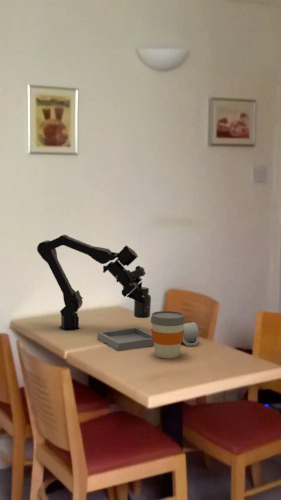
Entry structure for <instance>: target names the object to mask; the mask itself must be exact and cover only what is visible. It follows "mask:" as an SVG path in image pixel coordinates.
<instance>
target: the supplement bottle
mask: <svg viewBox="0 0 281 500" xmlns="http://www.w3.org/2000/svg"><path fill="white" fill-rule="evenodd" d="M149 289H150V288H149V287H144V286H142V287H139V288H138V291H139V293H140V294H141V296H142V297H143V299H144V300H145V303H144V304H143V303H141V302H138V301H136V300H134V299H133V300H134V302H133V304H134V305H133V316H134V317H135V318H139V319H149V317H150V318H151V309H152V308H151V306H152V305H151V303H152V301H151V300H152V296H151V295H150V294H149Z"/></svg>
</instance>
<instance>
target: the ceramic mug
mask: <svg viewBox="0 0 281 500" xmlns="http://www.w3.org/2000/svg"><path fill="white" fill-rule="evenodd" d="M183 329H184V334H183V341H182V343H181V344H184V345H185V346H187V347H196V346H197V345H198V341H199V339H200V330H199V327H198V325H197V323H196V322H194V321H193V322H188V323H187V322H185V323H184V327H183Z"/></svg>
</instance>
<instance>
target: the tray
mask: <svg viewBox="0 0 281 500" xmlns="http://www.w3.org/2000/svg"><path fill="white" fill-rule="evenodd" d="M96 335H97V336H96V337H97V340H98V339H99V340H98V341H100V340H101V341H100V342H102V341H103V342H105V343H107V344H106V345H107V346H109V347H110V348H112V349H114V350H116V351H118V352H119V351H120V352H121V351H126V350H134V349H141V348H147V347H154V342H153V341H152V333H150V332H149V331H145V330H144V329H141V328H140V327H129V328H121V329H115V330H114V329H113V330H106V331H98V332H97V334H96ZM103 342H102V343H103ZM105 343H104V344H105Z"/></svg>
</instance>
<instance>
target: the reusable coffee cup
mask: <svg viewBox="0 0 281 500" xmlns="http://www.w3.org/2000/svg"><path fill="white" fill-rule="evenodd" d="M185 316H186V315H185V314H184V313H182V312H179V311H172V310H159V311H154V312H152V313H151V315H150V323H151V334H152V341H153V342H154V346H153V349H154V355H155V357H159V358H162V359H163V358H164V359H174V358H178V357H179V356H180V354H181V353H180V352H181V345H182V344H183V343H182V341H183V334H184V329H183V327H184V324H186V319H185V318H186V317H185Z"/></svg>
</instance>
